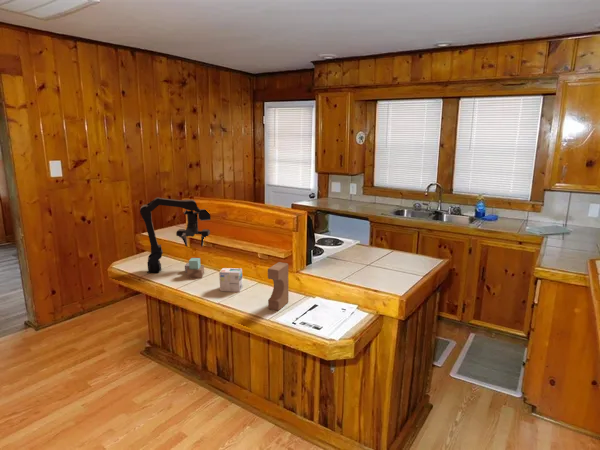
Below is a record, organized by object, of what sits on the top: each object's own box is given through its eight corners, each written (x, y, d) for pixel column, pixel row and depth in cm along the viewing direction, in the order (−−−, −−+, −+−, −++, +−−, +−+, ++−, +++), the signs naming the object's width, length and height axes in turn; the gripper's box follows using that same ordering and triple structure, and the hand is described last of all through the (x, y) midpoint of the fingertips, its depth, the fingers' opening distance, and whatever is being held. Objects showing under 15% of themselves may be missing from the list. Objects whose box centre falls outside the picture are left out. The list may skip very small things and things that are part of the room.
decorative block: (278, 311, 185) (277, 270, 181) (267, 309, 188) (266, 268, 183) (289, 302, 195) (289, 263, 190) (278, 300, 198) (278, 261, 193)
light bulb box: (243, 287, 213) (242, 268, 210) (240, 292, 207) (239, 272, 204) (223, 286, 214) (222, 267, 212) (219, 291, 208) (218, 271, 205)
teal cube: (189, 269, 225) (188, 260, 224) (192, 266, 230) (191, 257, 229) (198, 269, 225) (197, 261, 224) (200, 266, 230) (200, 258, 229)
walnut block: (187, 278, 225) (186, 270, 224) (190, 273, 233) (189, 265, 232) (202, 278, 226) (201, 270, 224) (204, 273, 233) (203, 265, 232)
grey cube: (185, 273, 233) (184, 265, 232) (187, 270, 237) (186, 263, 236) (192, 273, 233) (192, 265, 232) (194, 270, 238) (194, 263, 236)
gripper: (172, 224, 228) (174, 250, 232) (205, 224, 228) (206, 250, 232) (178, 219, 239) (180, 244, 243) (209, 220, 239) (210, 245, 242)
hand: (194, 246), depth 240 cm, fingers open, 9 cm apart
